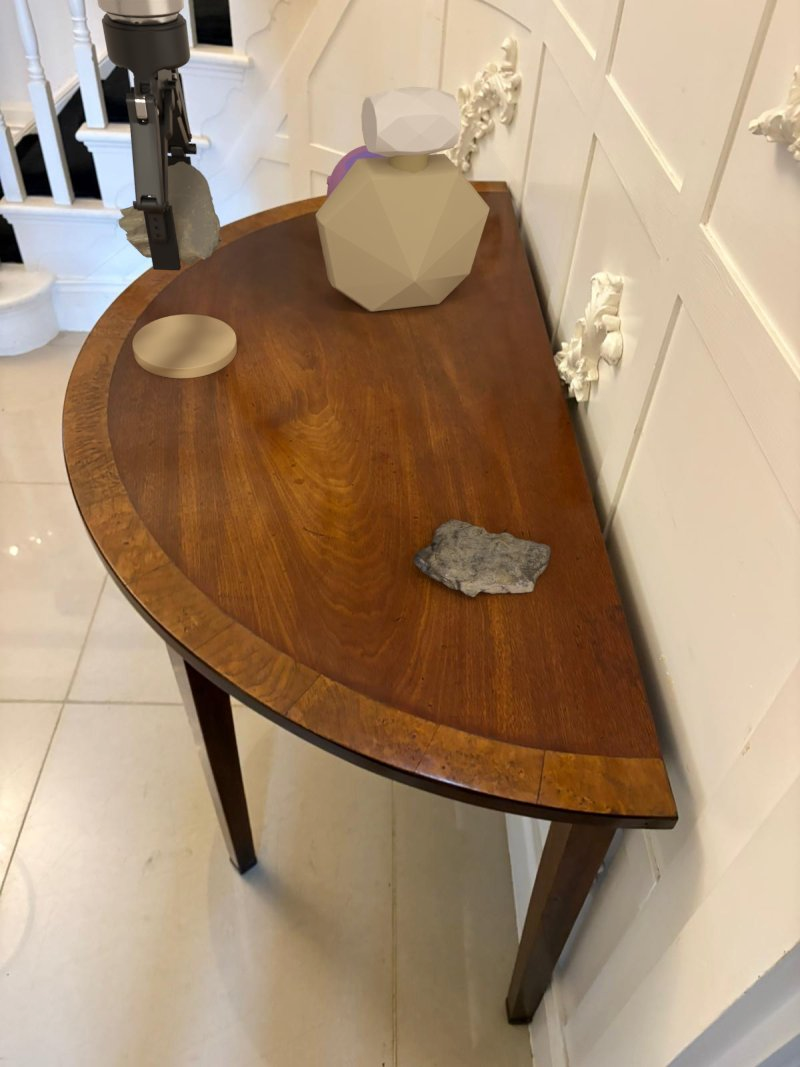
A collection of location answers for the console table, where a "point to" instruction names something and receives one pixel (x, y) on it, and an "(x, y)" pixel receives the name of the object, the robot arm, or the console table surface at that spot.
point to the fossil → (181, 216)
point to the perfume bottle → (403, 206)
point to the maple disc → (185, 346)
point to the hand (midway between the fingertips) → (176, 240)
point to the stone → (482, 560)
